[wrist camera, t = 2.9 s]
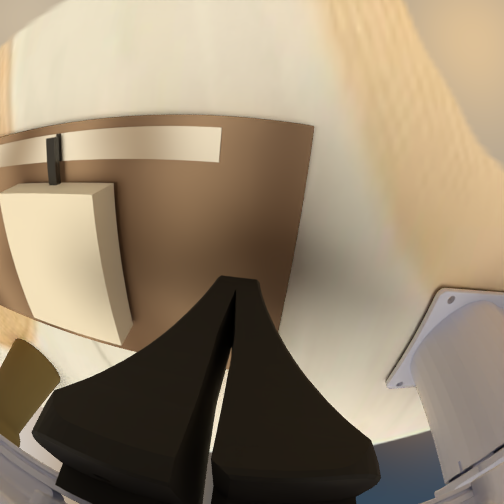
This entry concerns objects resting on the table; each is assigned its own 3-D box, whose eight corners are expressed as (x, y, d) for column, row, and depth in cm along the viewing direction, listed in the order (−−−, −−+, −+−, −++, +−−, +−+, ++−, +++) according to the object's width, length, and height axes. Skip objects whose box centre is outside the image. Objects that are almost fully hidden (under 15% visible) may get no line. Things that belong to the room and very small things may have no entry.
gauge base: (310, 125, 9) (314, 126, 8) (268, 359, 15) (268, 375, 14) (-53, 155, 10) (-63, 159, 9) (-25, 283, 15) (-32, 290, 14)
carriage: (112, 130, 8) (89, 135, 7) (133, 324, 13) (121, 345, 11) (16, 143, 8) (-6, 150, 7) (47, 301, 13) (34, 317, 11)
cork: (6, 331, 17) (-49, 409, 8) (46, 350, 17) (-12, 446, 8) (29, 371, 20) (-13, 443, 10) (68, 390, 20) (27, 475, 10)
